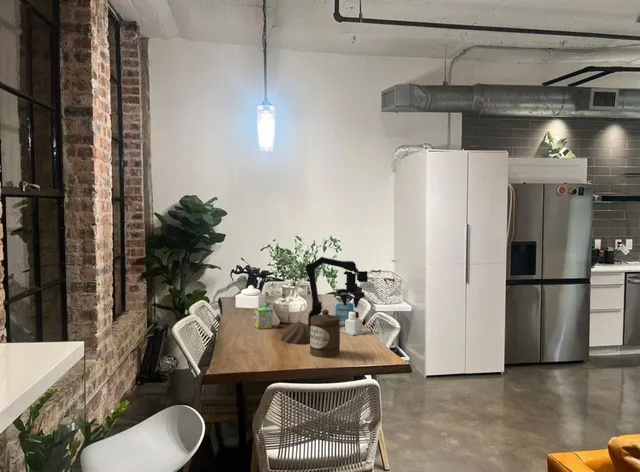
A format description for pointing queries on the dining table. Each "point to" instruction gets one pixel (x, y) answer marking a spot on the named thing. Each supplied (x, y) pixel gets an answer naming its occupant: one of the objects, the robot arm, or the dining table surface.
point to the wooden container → (325, 335)
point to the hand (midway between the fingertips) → (350, 306)
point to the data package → (343, 310)
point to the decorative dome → (297, 333)
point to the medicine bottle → (353, 323)
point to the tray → (352, 333)
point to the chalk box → (263, 317)
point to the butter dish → (250, 298)
